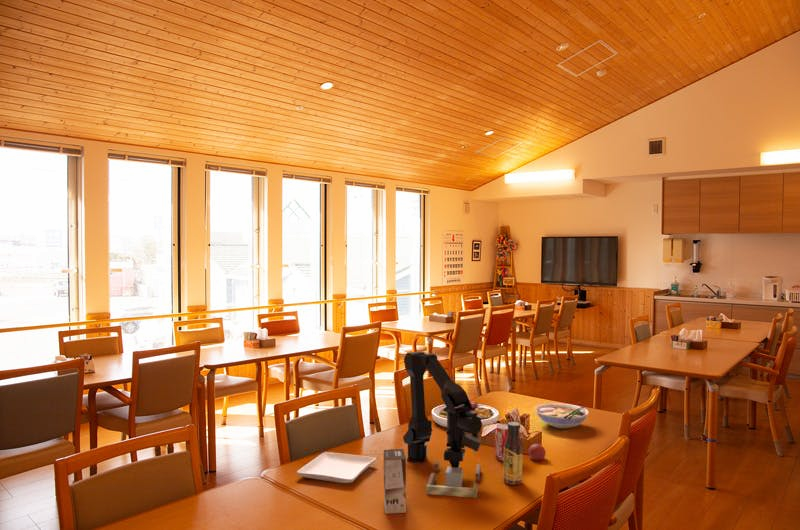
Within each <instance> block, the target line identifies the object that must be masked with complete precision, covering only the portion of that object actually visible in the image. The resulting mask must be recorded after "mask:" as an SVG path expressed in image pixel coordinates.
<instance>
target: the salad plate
mask: <svg viewBox="0 0 800 530" xmlns="http://www.w3.org/2000/svg"><path fill="white" fill-rule="evenodd" d="M376 460H377V457H374V456H366V455H360V454H359V455H358V454H349V453H341V452H340V453H339V452H331V451H330V452H329V451H324V452H322V453H321V454H319V455H317V456H316V457H315V458H314V459H312V460H310V462H308V463H307V464H305V465H304V466H303V467H301V468H299V469H298V470H297V471H296V472H297V474H298V475H300V476H301V477H304V478H307V479H311V480H312V479H313V480H319V481H326V482H334V483H338V484H339V483H340V484H350V483H353V482H354V481H355V480H356V479H357V478H358V477H359V476H360V475H361V474H362V473H363V472H365V471H366V470H367V469H368V468H369V467H370V466H372V465H373V464H374V463H375V462H376Z"/></svg>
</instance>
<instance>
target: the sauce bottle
mask: <svg viewBox="0 0 800 530" xmlns="http://www.w3.org/2000/svg"><path fill="white" fill-rule="evenodd" d="M507 425H508V436H507V439H506V442H505V445H504V457H503V461H502V462H503V463H502V464H503V465H502V469H503V470H502V477H503V478H502V480H503V482H504V483H505V484H507V485H511V486H517V485H520V484H522V482H523V481H522V479H523V457H524V456H523V455H524V454H523V453H524V452H523V446H524V445H523V443H522V440H521V438H520V436H521V435H520V429H521V423H520V422H517V421H509V422H507Z"/></svg>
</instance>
